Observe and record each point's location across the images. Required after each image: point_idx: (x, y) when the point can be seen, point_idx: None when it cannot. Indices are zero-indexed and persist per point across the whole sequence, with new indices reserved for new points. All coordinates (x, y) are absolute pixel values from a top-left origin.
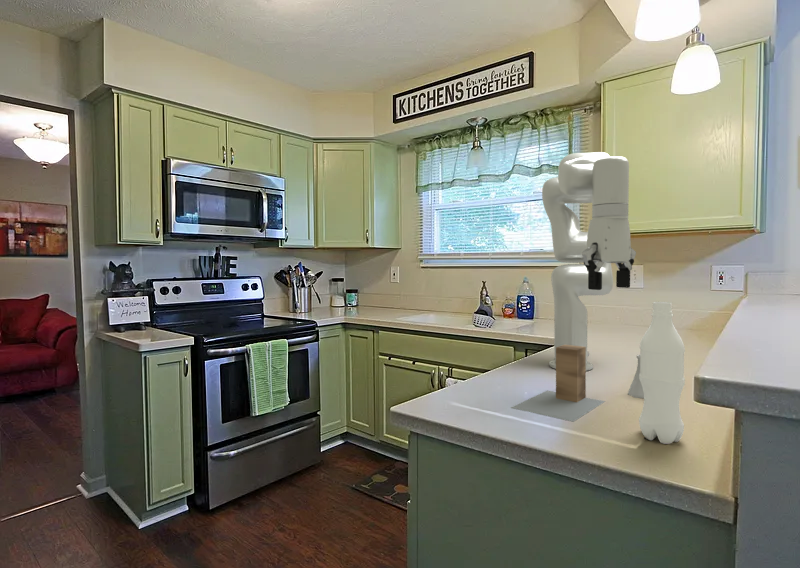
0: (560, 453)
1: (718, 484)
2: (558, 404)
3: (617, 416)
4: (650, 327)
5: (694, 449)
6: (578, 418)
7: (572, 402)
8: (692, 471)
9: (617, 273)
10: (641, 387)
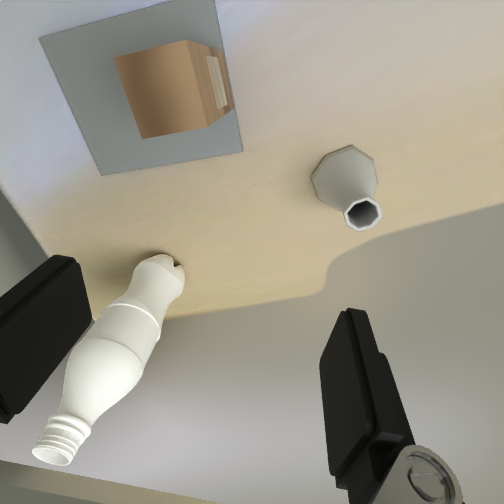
0: (22, 217)
1: None
2: None
3: (196, 199)
4: (64, 390)
5: None
6: (120, 172)
7: None
8: None
9: (358, 406)
10: (324, 192)
